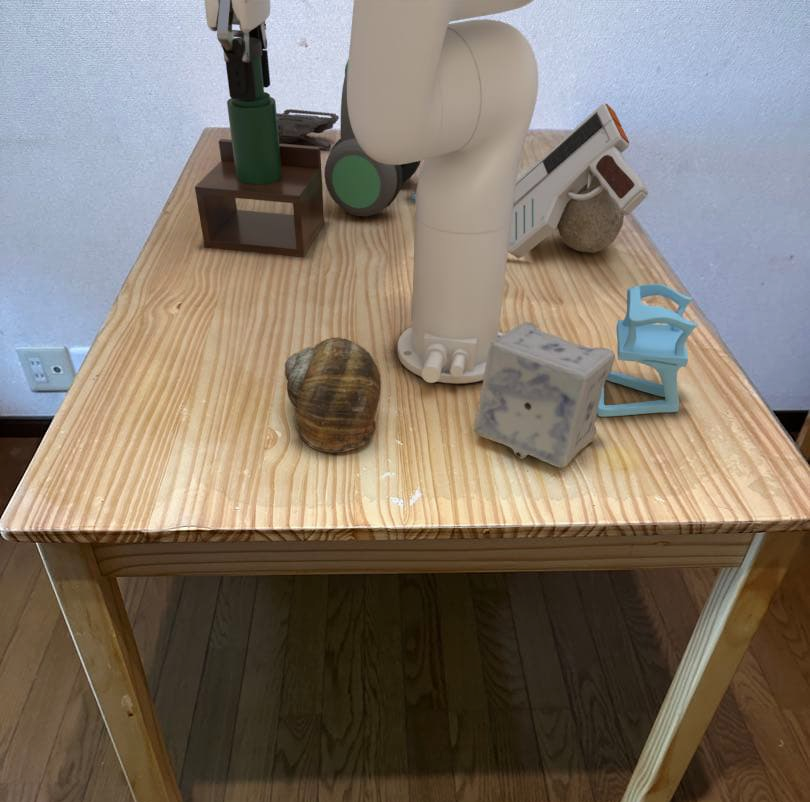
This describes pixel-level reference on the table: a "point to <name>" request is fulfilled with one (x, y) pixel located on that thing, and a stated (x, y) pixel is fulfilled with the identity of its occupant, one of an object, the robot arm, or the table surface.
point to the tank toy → (304, 126)
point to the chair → (651, 349)
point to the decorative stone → (590, 221)
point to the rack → (262, 228)
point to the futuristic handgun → (574, 179)
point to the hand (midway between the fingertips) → (250, 90)
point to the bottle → (255, 129)
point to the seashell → (334, 394)
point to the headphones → (361, 172)
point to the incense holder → (541, 394)
